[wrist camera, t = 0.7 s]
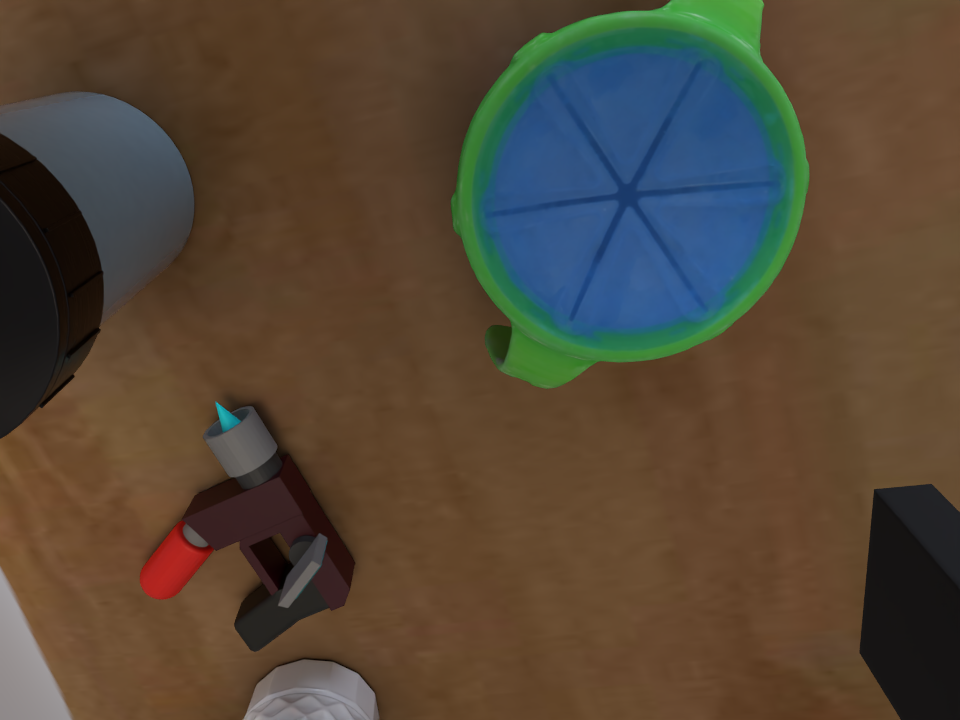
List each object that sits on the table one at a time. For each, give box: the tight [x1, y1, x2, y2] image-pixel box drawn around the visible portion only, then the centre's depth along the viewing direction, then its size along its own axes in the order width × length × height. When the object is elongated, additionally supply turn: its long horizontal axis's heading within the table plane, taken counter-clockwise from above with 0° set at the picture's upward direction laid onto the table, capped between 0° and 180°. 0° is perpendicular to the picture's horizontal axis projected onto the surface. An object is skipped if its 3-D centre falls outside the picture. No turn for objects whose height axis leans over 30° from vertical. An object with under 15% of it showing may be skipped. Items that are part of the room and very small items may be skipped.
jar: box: [0, 92, 194, 326], centre depth 29 cm, size 8×8×14 cm
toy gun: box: [140, 401, 355, 652], centre depth 39 cm, size 10×12×5 cm
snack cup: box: [451, 0, 809, 389], centre depth 30 cm, size 16×10×10 cm
